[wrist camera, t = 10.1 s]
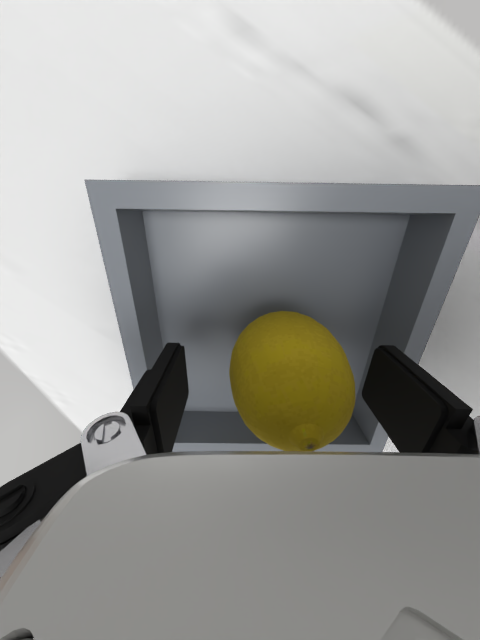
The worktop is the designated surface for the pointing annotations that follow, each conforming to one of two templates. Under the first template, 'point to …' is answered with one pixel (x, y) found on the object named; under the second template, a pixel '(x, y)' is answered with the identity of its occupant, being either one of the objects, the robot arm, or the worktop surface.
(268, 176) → the worktop surface
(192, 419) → the tray
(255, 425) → the lemon
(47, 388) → the worktop surface
